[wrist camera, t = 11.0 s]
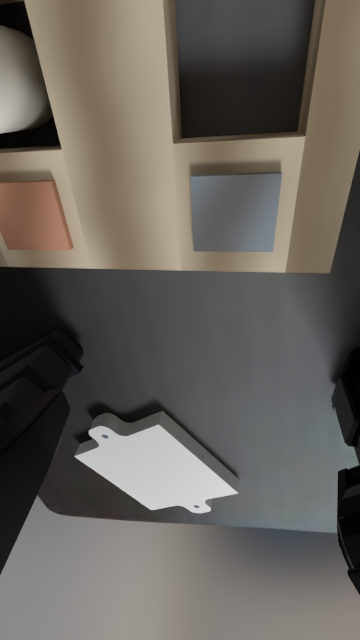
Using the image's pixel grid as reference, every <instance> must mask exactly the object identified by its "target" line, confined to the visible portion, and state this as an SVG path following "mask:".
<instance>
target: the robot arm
mask: <svg viewBox="0 0 360 640" xmlns="http://www.w3.org/2000/svg"><path fill="white" fill-rule="evenodd" d="M359 355H360V349H355V350H353V351H352V352H351V353H350V355H349V358H348V361H347V364H346V367H345V370H344V373H342V374H341V375H340V376H339V378H338V381H337V384H336V387H335V390H334V393H333V396H332V400H333V405H332V408H333V411H334V413H336V414H337V417H338V421H339V424H340V428H341V431H342V435H343V438H344V442H345V443H346V444H347V445H348V446H351V447H354V449H355V452H356V455H357V458H358V462H359V465H358V466H356V467H353V468H350V469H347V468H345V469H343V470H340V471H338V508H337V531H338V542H339V545H340V548H341V550H342V553H343V556H344V558H345V560H346V563H347V565H348V567H349V569H348V576H349V578H350V579H351V581H352V583H353V584H354V586H355V588H356V589H357V591H358V592H359V594H360V357H356V356H359ZM69 413H70V406H69V404H68V401H67V399H66V397H65V394H64V392H63V391H61V390H49V391H47V392H45V393H44V394H43V395H41V396H40V397H39V398H37V399H36V400H34V401H33V402H32V403H30V404H29V405H27V406H26V407H25V408H23V409H22V410H20V411H19V412H18V413H16V414H15V415H14V416H12V417H11V418H9V419H8V420H7V421H5V422H4V423H2V424H1V425H0V574H1V572H2V570H3V568H4V566H5V563H6V561H7V559H8V557H9V555H10V552H11V550H12V548H13V546H14V544H15V542H16V540H17V537H18V535H19V533H20V530H21V529H22V527H23V524H24V522H25V520H26V518H27V516H28V514H29V511H30V509H31V507H32V505H33V503H34V500H35V498H36V496H37V494H38V492H39V490H40V488H41V485H42V483H43V481H44V479H45V477H46V475H47V472H48V470H49V468H50V466H51V464H52V461H53V459H54V456H55V454H56V451H57V448H58V445H59V442H60V439H61V437H62V434H63V431H64V428H65V425H66V422H67V419H68V416H69Z"/></svg>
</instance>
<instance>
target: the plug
mask: <svg viewBox="0 0 360 640" xmlns="http://www.w3.org/2000/svg"><path fill="white" fill-rule="evenodd" d="M52 115H53V112H52V108H51V104H50V100H49V97H48V93H47V89H46V85H45V81H44V77H43V73H42V69H41V65H40V61H39V57H38V53H37V49H36V45H35V41H34V40H32V39H31V38H30V37H29V36H27V35H26V34H24V33H22V32H21V31H18V30H15V29H12V28H9V27H5V26H2V25H0V134H1V133H8V132H15V131H21V130H28V129H35V128H39V127H41V126H43V125H45V124H46V123H47V122H48V121H49V120H50V119H51V117H52Z"/></svg>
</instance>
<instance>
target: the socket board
mask: <svg viewBox="0 0 360 640" xmlns="http://www.w3.org/2000/svg"><path fill="white" fill-rule="evenodd" d="M23 1H25V5H26V9H27V13H28V17H29V21H30V25H31V29H32V33H33V37H34V41H35V45H36V49H37V53H38V57H39V61H40V65H41V69H42V73H43V77H44V81H45V85H46V89H47V93H48V97H49V100H50V104H51V108H52V112H53V116H54V120H55V124H56V128H57V132H58V136H59V140H60V144H61V145H56V146H39V147H22V148H5V149H0V267H40V268H89V269H138V270H187V271H237V272H286V273H330V271H331V266H332V262H333V258H334V254H335V250H336V246H337V242H338V237H339V233H340V229H341V225H342V221H343V217H344V213H345V208H346V204H347V200H348V196H349V192H350V188H351V183H352V179H353V175H354V171H355V167H356V163H357V159H358V154H359V150H360V0H315V4H314V12H313V19H312V27H311V34H310V42H309V49H308V57H307V64H306V71H305V79H304V86H303V94H302V101H301V109H300V116H299V124H298V131H296V132H279V133H262V134H245V135H228V136H211V137H193V138H182V125H181V106H180V87H179V67H178V48H177V29H176V9H175V0H0V5H4V4H10V3H16V2H23Z"/></svg>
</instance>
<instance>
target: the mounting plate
mask: <svg viewBox="0 0 360 640" xmlns="http://www.w3.org/2000/svg"><path fill="white" fill-rule="evenodd" d="M89 435H90V436H91V437H92V438H93V439H91V440H89V441H86V442H84V443H81V444H80V446H79V448H78V450H77V452H76V454H75V456H74V457H76V458H77V459H79V460H80V461H82V462H83V463H84V464H86V465H87V466H89V467H90V468H92V469H93V470H94V471H96V472H97V473H99V474H100V475H102V476H103V477H104V478H106V479H107V480H109V481H110V482H112V483H113V484H115V485H116V486H117V487H119V488H120V489H122V490H123V491H125V492H126V493H127V494H129V495H130V496H132V497H133V498H135V499H136V500H137V501H139V502H140V503H142V504H143V505H145V506H146V507H147V508H149V509H150V510H156V509H161V508H166V507H171V506H183V507H185V508H187V509H188V510H189V511H191V512H194V513H204V512H209V511H211V503H212V498H217V497H222V496H228V495H233V494H238V493H239V479H238V478H237V477H236V476H235V475H234V474H233V473H231V472H230V471H229V470H228V469H227V468H226V467H225V466H224V465H222V464H221V463H220V462H219V461H218V460H217V459H216V458H215V457H214V456H212V455H211V454H210V453H209V452H208V451H207V450H206V449H205V448H204V447H202V446H201V445H200V444H199V443H198V442H197V441H196V440H195V439H193V438H192V437H191V436H190V435H189V434H188V433H187V432H186V431H185V430H183V429H182V428H181V427H180V426H179V425H178V424H177V423H176V422H175V421H173V420H172V419H171V418H170V417H169V416H168V415H167V414H166V413H164V412H163V411H160V412H158V413H155V414H153V415H150V416H148V417H145V418H143V419H141V420H138V421H136V422H133V423H127V422H124V421H122V420H120V419H119V418H118V417H117V416H115V415H113V414H111V413H104V414H101V415H99V416H97V417H96V418H95V419H94V421H93V424H92V426H91V428H90V430H89Z"/></svg>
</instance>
